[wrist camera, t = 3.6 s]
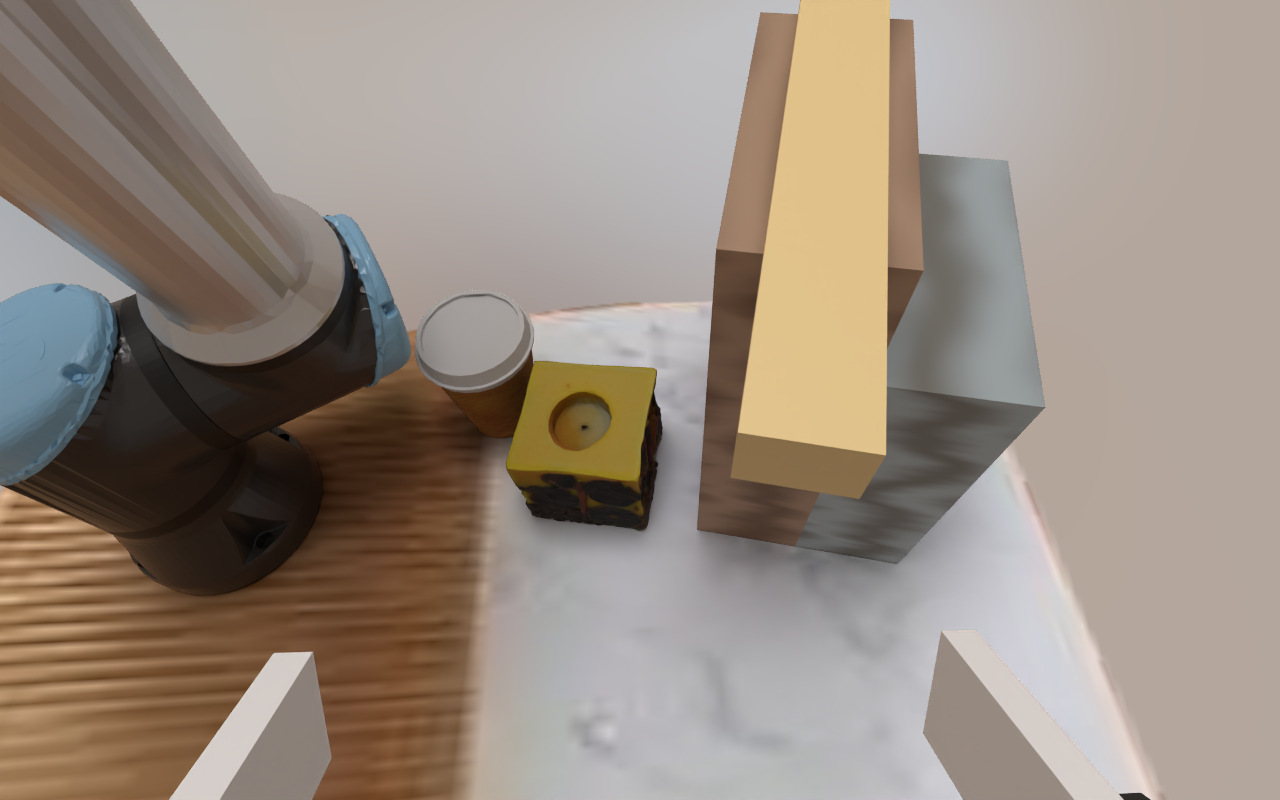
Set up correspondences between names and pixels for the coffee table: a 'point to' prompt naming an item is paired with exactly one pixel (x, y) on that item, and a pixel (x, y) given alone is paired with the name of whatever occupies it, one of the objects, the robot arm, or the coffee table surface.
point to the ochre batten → (824, 265)
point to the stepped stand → (916, 327)
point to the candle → (588, 443)
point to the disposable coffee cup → (479, 356)
